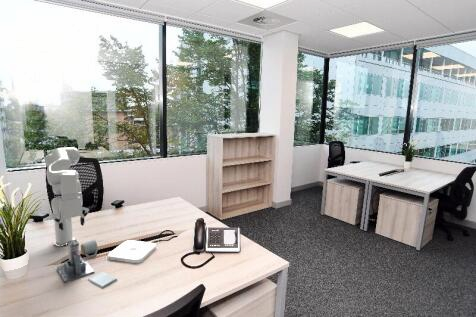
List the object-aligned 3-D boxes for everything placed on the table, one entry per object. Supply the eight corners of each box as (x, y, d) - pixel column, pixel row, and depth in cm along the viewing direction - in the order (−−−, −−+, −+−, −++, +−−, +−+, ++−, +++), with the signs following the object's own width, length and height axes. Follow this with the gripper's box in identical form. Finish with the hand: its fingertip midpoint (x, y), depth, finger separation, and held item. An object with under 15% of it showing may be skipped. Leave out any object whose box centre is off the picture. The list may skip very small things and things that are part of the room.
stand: (56, 268, 153) (54, 248, 151) (84, 260, 163) (83, 240, 161) (64, 283, 140) (62, 261, 139) (94, 272, 150) (93, 252, 148)
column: (69, 267, 152) (67, 241, 150) (77, 265, 155) (75, 239, 153) (72, 272, 148) (70, 245, 146) (80, 269, 151) (78, 243, 148)
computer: (139, 264, 160) (139, 260, 160) (105, 259, 165) (105, 255, 164) (157, 247, 182) (157, 243, 181) (127, 243, 186) (127, 239, 185)
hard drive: (117, 278, 144) (102, 271, 150) (102, 286, 137) (87, 278, 143) (117, 281, 144) (102, 273, 150) (102, 289, 137) (88, 281, 143)
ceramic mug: (80, 253, 171) (79, 241, 169) (94, 248, 176) (94, 237, 175) (85, 260, 163) (84, 248, 162) (100, 255, 169) (99, 243, 168)
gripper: (85, 191, 154) (87, 221, 156) (48, 197, 142) (51, 229, 144) (90, 194, 148) (91, 225, 151) (52, 201, 136) (54, 233, 139)
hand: (72, 227), depth 148 cm, fingers open, 9 cm apart
